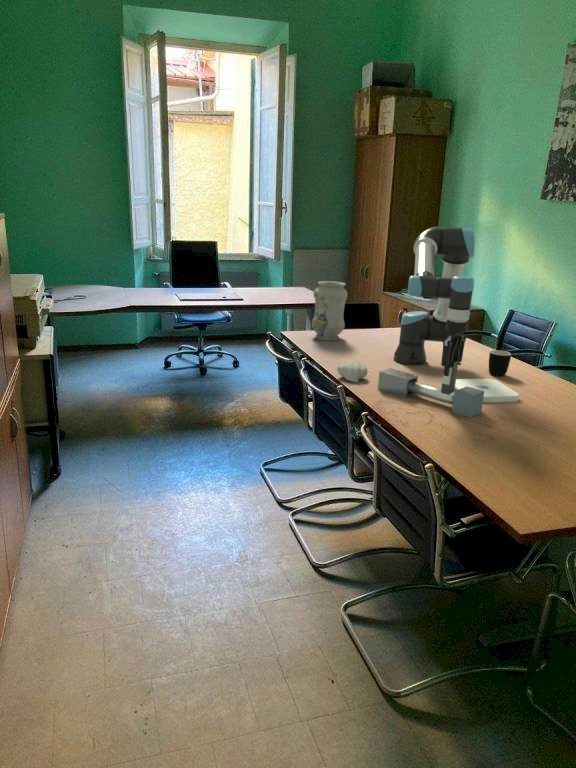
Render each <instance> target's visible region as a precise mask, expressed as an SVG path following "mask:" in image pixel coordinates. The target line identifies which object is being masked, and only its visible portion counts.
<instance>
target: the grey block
mask: <svg viewBox="0 0 576 768" xmlns="http://www.w3.org/2000/svg"><path fill="white" fill-rule="evenodd" d="M453 393H454V400H453V405H452V407H451V408H452V409H451V413H454V414H457V415H461V416H462V417H463V416H464V417H466V418H472V417H474V416H476V415H478V414H480V413H481V412H482V408H483V404H484V402H483V397H484V391H483V390H479V389H475V388H471V387H467V386H466V387H464V388H461V389H459V390H457V391H455V392H453Z"/></svg>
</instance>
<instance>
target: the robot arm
mask: <svg viewBox="0 0 576 768" xmlns="http://www.w3.org/2000/svg"><path fill="white" fill-rule="evenodd" d="M413 253H414V255H415V256H414V257H415V258H414V271H413V273H414V274H413V275H410V276H409V278H408V285H407V295H408V296H411V297H416V298H421V297H422V298H435V299H438V302H437V309H436V310H434V311H433V313H432V315H429V314H428V312H427V311H421V310H420V311H419V310H418V311H417V310H416V311H408V312H405V313H403V315H402V316H401V322H400V331H399V333H400V334H399V341H398V345H397V347H396V349H395V352H394V354H393V361H394V362H397V363H399V364H404V365H410V366H411V365H412V366H417V365H418V366H420V365H425V364H426V363H427V354H426V348H425V342H426V341H428V342H437V343H438V342H440V343H442V352H441V353H442V354H441V363H440V365H441V366H442V367H443V374H442V380H443V381H442V382H441V384H442V383H443V384H447V385H450V380H451V373H452V367H451V364H452V360H457V361H458V366H461V365H462V360H463V355H464V349H465V345H466V340H467V336H466V335H464V334H465V333H467V332H468V326H469V322H468V321H469V319H470V315H471V313H470V312H471V304H472V299H473V294H474V293H473V291H474V287H475V285H474V284H475V278H473V277H472V276H468V275H464V269H465V265H467V264H468V263H469V262H470V258H471V259H472V258H473V257H474V256H475V232H474V230H473V229H472V228H466V227H447V226H446V227H445V226H433V227H429V228H428V229H425V230H424V231H423V232H421V233H420V234H419V235H418V236H417V237H416V239H415V240H414V243H413ZM436 256H441V257H440V260H441V261H442V263H443V268H442V275H441V276H440V277H439V276H438V277H437V276H435V265H436V262H435V257H436Z"/></svg>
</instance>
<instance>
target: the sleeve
mask: <svg viewBox="0 0 576 768" xmlns="http://www.w3.org/2000/svg"><path fill="white" fill-rule="evenodd" d="M378 372H379V373H378V383H377V390H378V391H382V392H386V393H390V394H393V395H396V396H399V397H402V398H408V397H411V396H412V395H413V396H414V395H415V394H414V393H411V392H408V384H409V381H413V382H417V383H418V379H419V375H418V374H413V373H411V372H408V371H407V372H406V371H403V370H400V369H399V370H398V369H394V368H386V369H383V370H380V371H378Z"/></svg>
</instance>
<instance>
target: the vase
mask: <svg viewBox="0 0 576 768" xmlns="http://www.w3.org/2000/svg"><path fill="white" fill-rule="evenodd" d="M317 284H318V287H316V288H315V289H314V291H313V298H314V302H315V303H314V315H313V318H312V321H311V327H312V330H313V331H314V332H315V334H316V335H315V338H316V339H318V340H321V341H327V342H328V341H329V342H331V341H333V342H334V341H338V340H340V337H339V335H340V334H341V333H342V332H343V331H344V330H345V327H346V326H345V325H346V324H345V320H344V313H345V306H346V301H347V299H348V292H347V290H346V289H345V288H344V287H345V286H346V283H345V282H341V281H331V280H322V281H318V282H317Z"/></svg>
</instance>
